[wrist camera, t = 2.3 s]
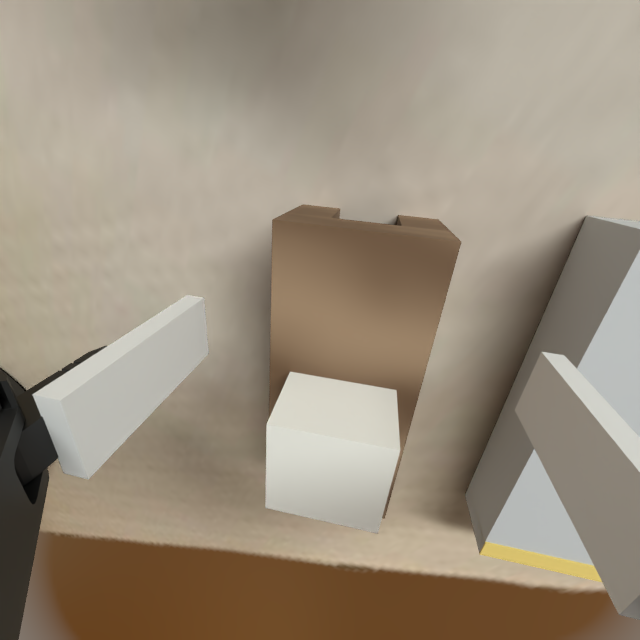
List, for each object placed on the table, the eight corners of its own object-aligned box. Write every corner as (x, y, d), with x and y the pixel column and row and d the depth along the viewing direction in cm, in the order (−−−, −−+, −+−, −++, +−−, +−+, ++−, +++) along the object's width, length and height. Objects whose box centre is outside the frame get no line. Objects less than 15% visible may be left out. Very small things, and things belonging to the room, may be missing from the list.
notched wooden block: (384, 445, 24) (384, 518, 19) (290, 427, 24) (267, 492, 19) (437, 218, 16) (461, 241, 12) (303, 204, 17) (272, 219, 12)
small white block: (286, 447, 18) (265, 508, 14) (290, 371, 15) (266, 424, 12) (378, 465, 17) (377, 533, 14) (396, 390, 15) (400, 450, 12)
